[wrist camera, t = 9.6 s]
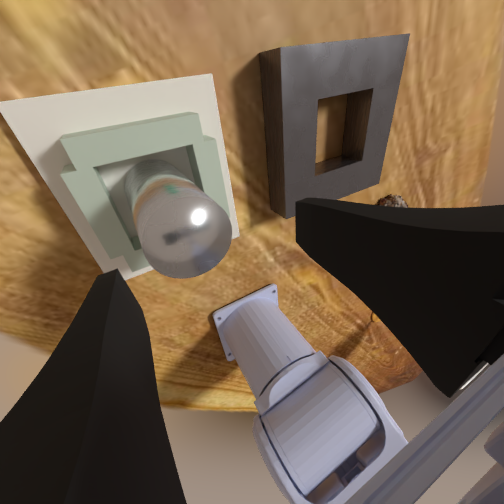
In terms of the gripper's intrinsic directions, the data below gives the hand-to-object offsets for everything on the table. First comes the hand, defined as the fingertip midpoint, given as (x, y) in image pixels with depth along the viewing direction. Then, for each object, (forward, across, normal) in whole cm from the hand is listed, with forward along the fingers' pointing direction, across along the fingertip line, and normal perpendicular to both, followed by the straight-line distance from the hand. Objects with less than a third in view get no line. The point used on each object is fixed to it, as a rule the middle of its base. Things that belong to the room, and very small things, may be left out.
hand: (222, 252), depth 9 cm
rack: (+10, +1, 0) cm, 10 cm away
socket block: (+10, -14, -1) cm, 18 cm away
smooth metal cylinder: (+10, +1, 0) cm, 10 cm away
